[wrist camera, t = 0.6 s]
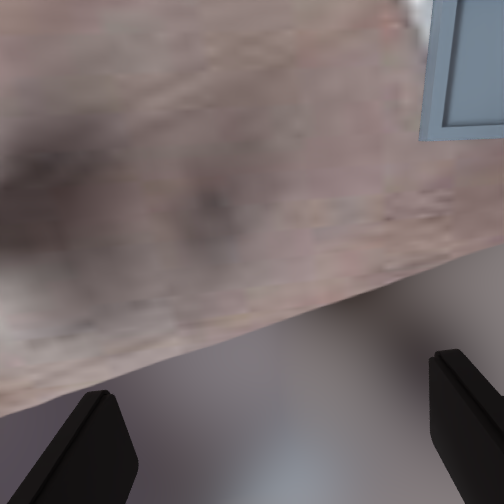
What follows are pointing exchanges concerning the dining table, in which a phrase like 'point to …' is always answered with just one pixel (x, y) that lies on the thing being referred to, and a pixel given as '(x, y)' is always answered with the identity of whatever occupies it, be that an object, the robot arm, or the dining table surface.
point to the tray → (464, 72)
